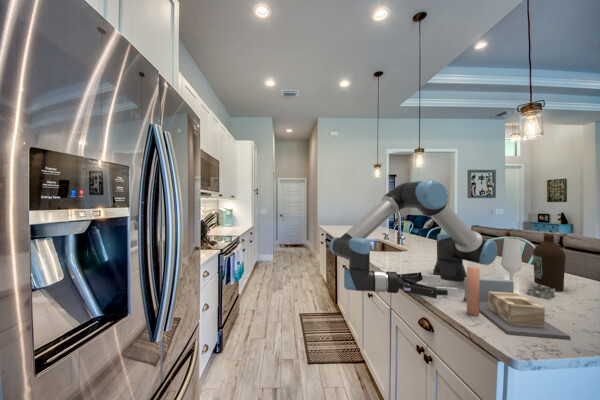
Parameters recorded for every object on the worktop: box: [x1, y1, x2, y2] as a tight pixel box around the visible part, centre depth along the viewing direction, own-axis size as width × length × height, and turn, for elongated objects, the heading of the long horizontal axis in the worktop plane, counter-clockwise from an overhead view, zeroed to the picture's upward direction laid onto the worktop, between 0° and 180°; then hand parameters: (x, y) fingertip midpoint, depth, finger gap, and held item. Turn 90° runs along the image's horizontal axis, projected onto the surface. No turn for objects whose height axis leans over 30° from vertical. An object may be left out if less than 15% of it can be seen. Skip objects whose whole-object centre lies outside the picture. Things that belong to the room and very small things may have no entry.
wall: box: [463, 277, 515, 301], centre depth 95 cm, size 2×16×8 cm, turn 81°
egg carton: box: [525, 282, 556, 300], centre depth 104 cm, size 11×8×4 cm
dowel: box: [466, 266, 481, 317], centre depth 86 cm, size 4×4×16 cm
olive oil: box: [532, 232, 567, 292], centre depth 113 cm, size 11×11×25 cm
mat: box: [463, 297, 571, 340], centre depth 84 cm, size 26×16×1 cm, turn 171°
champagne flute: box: [500, 237, 523, 282], centre depth 102 cm, size 7×7×24 cm
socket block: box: [488, 292, 546, 327], centre depth 81 cm, size 12×9×6 cm
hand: (448, 285), depth 87 cm, fingers open, 13 cm apart
